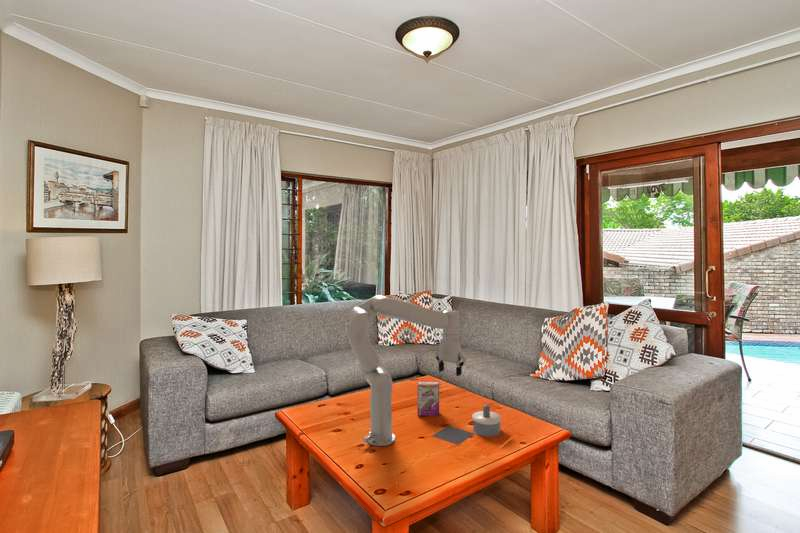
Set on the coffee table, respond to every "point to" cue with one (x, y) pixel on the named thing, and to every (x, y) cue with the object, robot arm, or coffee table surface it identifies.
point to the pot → (486, 429)
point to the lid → (486, 416)
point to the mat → (453, 435)
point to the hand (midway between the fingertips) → (449, 373)
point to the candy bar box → (428, 398)
